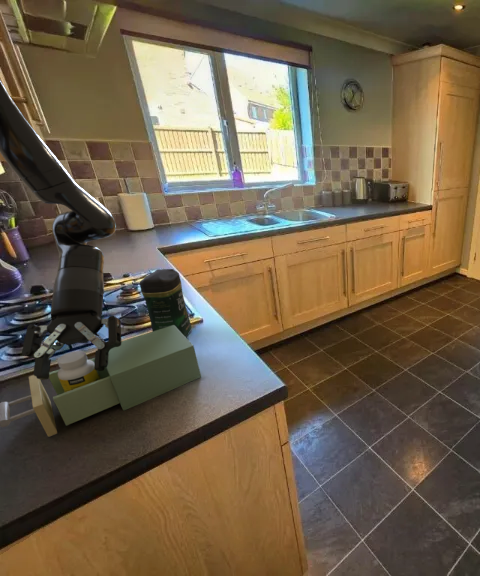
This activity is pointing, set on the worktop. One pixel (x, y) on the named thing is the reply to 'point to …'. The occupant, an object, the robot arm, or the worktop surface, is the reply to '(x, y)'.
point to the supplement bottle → (76, 370)
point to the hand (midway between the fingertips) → (71, 374)
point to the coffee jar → (165, 300)
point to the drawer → (64, 401)
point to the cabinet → (151, 365)
